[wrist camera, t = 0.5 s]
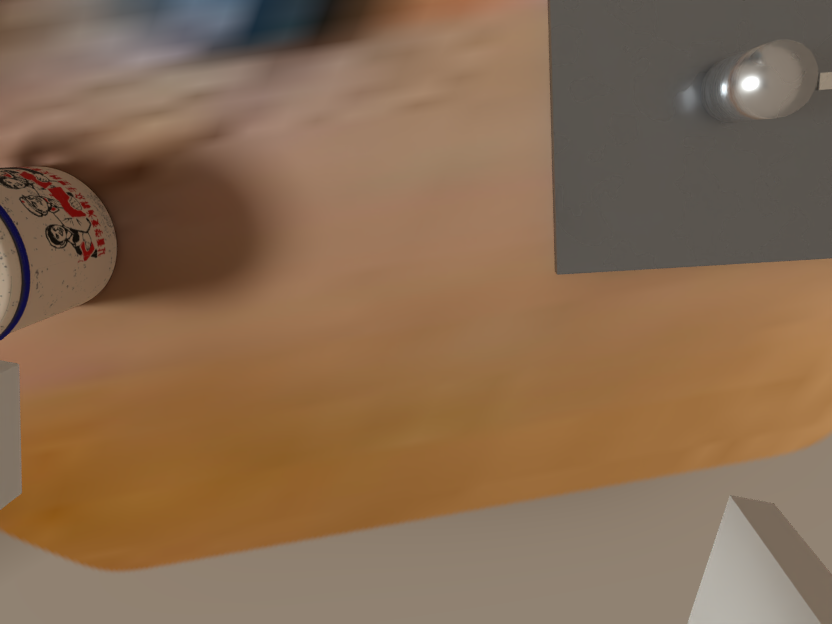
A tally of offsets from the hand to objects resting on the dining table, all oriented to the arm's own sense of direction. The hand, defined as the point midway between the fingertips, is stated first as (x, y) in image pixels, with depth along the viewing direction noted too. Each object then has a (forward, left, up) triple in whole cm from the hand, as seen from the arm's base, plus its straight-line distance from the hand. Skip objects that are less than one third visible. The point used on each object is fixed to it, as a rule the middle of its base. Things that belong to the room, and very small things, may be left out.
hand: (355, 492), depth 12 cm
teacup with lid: (-4, -24, -26) cm, 36 cm away
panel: (-8, +16, -26) cm, 31 cm away
